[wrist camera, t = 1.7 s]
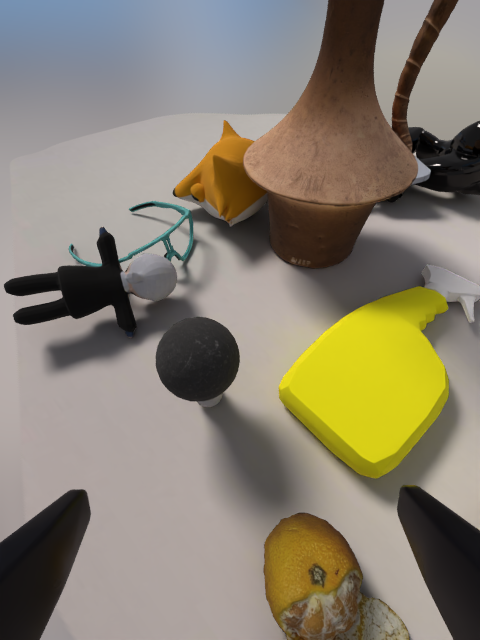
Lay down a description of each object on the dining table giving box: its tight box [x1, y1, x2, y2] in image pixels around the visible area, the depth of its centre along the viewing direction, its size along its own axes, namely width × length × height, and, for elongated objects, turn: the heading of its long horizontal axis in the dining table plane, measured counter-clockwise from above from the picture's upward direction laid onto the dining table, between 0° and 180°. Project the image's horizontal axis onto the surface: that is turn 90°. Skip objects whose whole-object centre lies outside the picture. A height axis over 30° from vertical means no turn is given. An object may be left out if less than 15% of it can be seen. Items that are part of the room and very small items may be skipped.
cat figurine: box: [386, 121, 480, 202], centre depth 43 cm, size 10×14×18 cm
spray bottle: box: [279, 264, 480, 479], centre depth 26 cm, size 3×11×24 cm
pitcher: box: [243, 0, 458, 268], centre depth 26 cm, size 18×17×28 cm
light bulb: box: [156, 317, 240, 407], centre depth 21 cm, size 6×6×10 cm
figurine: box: [4, 227, 177, 338], centre depth 27 cm, size 11×6×15 cm
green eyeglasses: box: [69, 201, 193, 267], centre depth 36 cm, size 14×15×5 cm
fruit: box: [264, 513, 409, 640], centre depth 16 cm, size 8×8×4 cm
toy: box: [173, 120, 268, 227], centre depth 39 cm, size 19×15×10 cm
